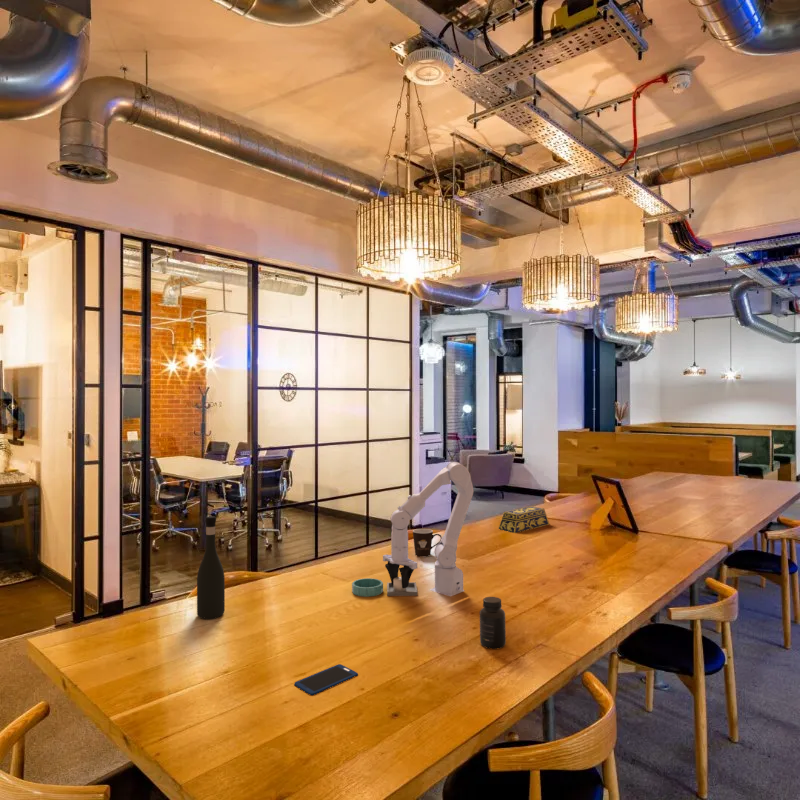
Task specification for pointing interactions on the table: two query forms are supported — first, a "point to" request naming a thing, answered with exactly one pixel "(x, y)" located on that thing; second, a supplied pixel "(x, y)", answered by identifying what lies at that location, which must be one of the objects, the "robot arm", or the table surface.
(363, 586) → the bowl
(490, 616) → the supplement bottle
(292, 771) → the table surface
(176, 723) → the table surface
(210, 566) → the wine bottle
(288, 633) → the table surface
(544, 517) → the decorative box
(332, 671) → the cell phone
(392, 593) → the parts tray
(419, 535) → the coffee mug
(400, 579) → the stone
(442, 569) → the robot arm
